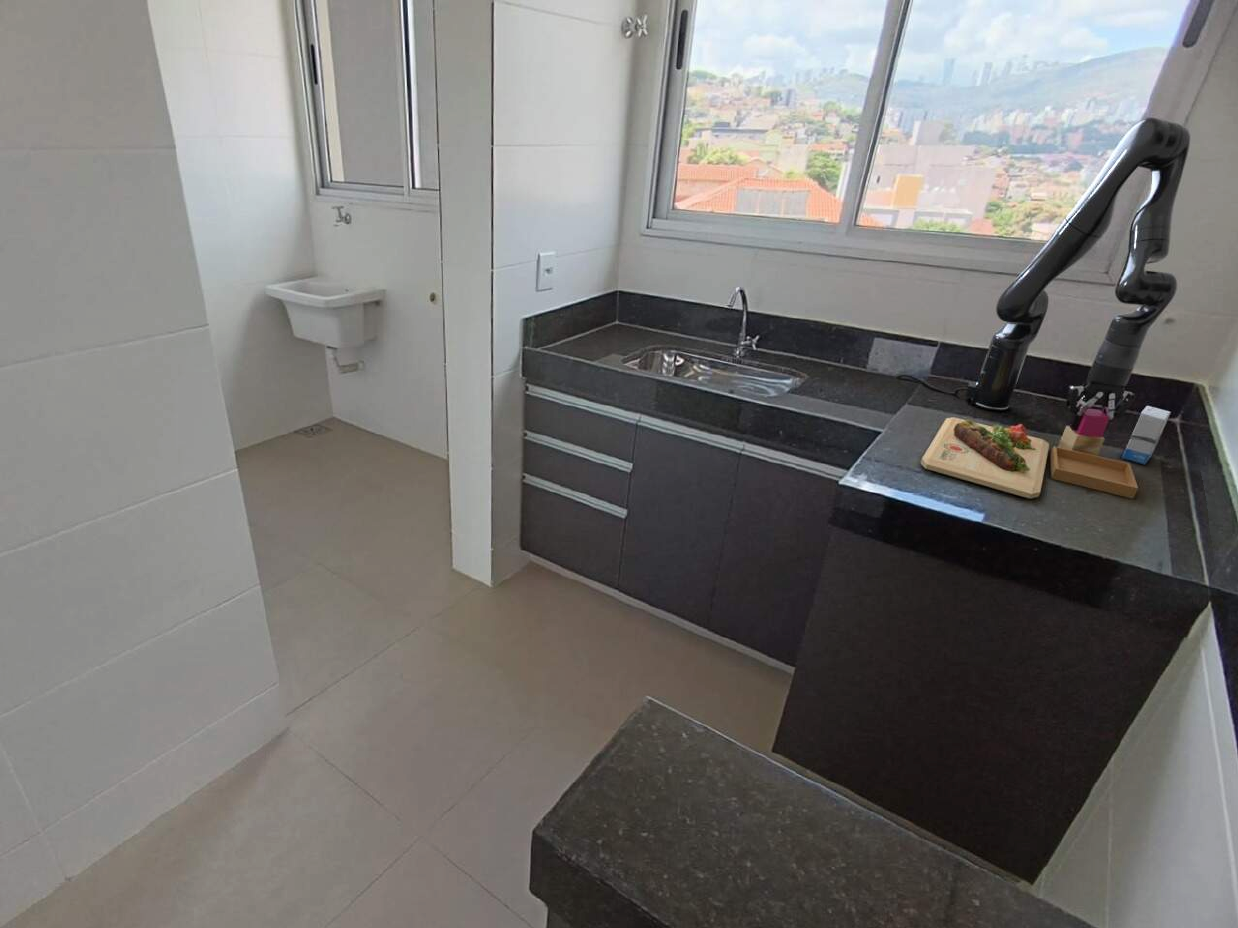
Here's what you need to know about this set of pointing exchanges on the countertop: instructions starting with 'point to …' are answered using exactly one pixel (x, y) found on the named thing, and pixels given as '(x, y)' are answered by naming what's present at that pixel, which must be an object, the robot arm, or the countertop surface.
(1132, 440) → the ink box
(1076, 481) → the tray
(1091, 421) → the pink block
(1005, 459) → the cutting board
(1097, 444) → the base block
